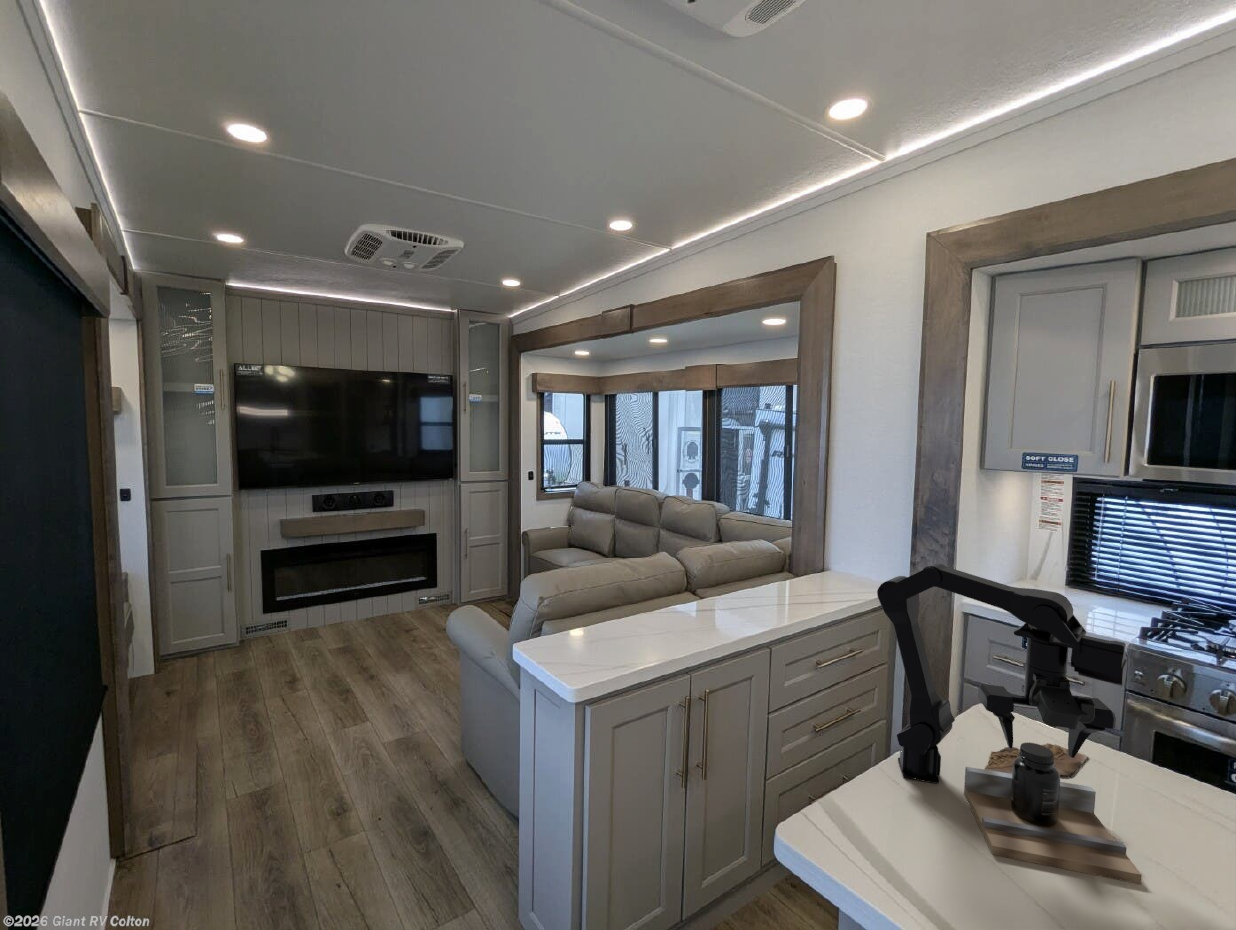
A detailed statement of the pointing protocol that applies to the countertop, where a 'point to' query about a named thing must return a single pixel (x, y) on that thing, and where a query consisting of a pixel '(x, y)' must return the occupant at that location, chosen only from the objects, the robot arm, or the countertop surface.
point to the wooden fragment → (1062, 760)
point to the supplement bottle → (1035, 785)
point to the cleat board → (1047, 829)
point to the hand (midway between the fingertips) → (1040, 751)
